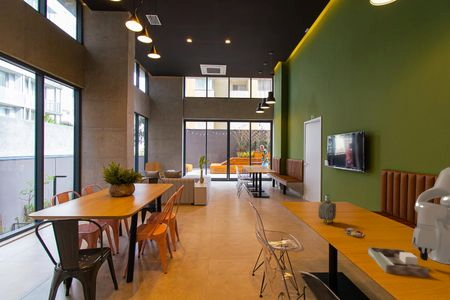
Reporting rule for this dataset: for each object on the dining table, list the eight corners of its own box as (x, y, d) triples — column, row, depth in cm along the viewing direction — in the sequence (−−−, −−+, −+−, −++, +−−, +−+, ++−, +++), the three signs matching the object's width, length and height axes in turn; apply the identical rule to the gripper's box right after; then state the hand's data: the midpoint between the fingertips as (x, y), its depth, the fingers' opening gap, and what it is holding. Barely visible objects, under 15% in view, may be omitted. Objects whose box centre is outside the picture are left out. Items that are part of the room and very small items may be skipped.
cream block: (410, 259, 141) (411, 253, 140) (417, 264, 135) (417, 257, 135) (399, 258, 142) (399, 251, 141) (405, 263, 136) (405, 256, 136)
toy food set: (358, 239, 177) (358, 234, 177) (340, 233, 188) (340, 229, 188) (366, 235, 185) (366, 231, 185) (349, 230, 196) (349, 226, 195)
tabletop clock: (327, 226, 204) (328, 196, 204) (317, 223, 211) (318, 194, 210) (335, 222, 214) (336, 194, 213) (325, 220, 220) (326, 192, 220)
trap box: (403, 256, 149) (403, 250, 149) (428, 277, 126) (429, 269, 126) (367, 253, 153) (368, 246, 153) (386, 272, 129) (386, 265, 129)
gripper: (436, 226, 139) (434, 258, 139) (406, 223, 141) (405, 255, 141) (445, 230, 131) (443, 264, 132) (414, 227, 134) (412, 260, 134)
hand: (423, 259), depth 136 cm, fingers closed
